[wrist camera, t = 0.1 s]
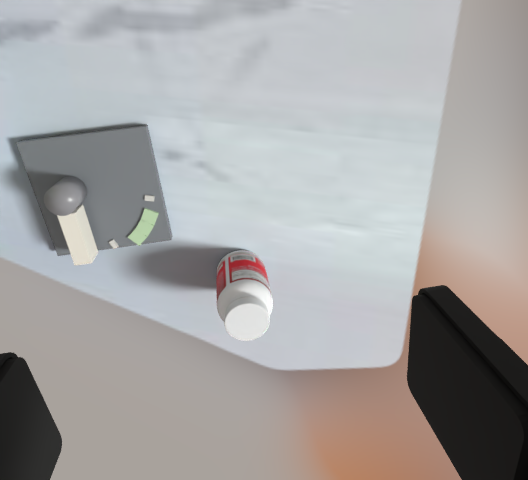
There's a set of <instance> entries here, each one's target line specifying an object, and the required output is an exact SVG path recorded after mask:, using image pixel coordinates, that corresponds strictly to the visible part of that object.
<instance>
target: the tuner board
mask: <svg viewBox="0 0 528 480" xmlns="http://www.w3.org/2000/svg"><path fill="white" fill-rule="evenodd" d="M16 144H17V147H18V150H19V152H20V155H21V158H22V160H23V163H24V166H25V169H26V171H27V174H28V177H29V179H30V182H31V185H32V187H33V190H34V193H35V196H36V198H37V201H38V204H39V206H40V209H41V212H42V214H43V217H44V220H45V223H46V225H47V228H48V231H49V233H50V236H51V239H52V241H53V244H54V247H55V249H56V252H57V255H58V256H62V255H69V254H71V253H70V251H69V248H68V245H67V242H66V239H65V236H64V234H63V231H62V228H61V225H60V222H59V219H58V217H57V215H55V214H53V213H52V212H50V211H49V210H48V209H47V208H46V206H45V204H44V195H45V193H46V191H47V190H49V189H50V188H51V187H52V186H54V185H55V184H56V183H57V182H58V181H60V180H61V179H62V178H64V177H67V176H73V177H77V178H79V179H80V180H82V181H83V182H84V184H85V185H86V187H87V196H86V198H85V199H84V200H83V201H82V202H81V204H80V205H82V204H83V206H84V209H85V212H86V215H87V219H88V222H89V225H90V228H91V231H92V234H93V237H94V240H95V244H96V247H97V250H104V249H112V248H113V249H115V248H119V247H126V246H133V245H139V246H140V245H141V244H147V243H154V242H162V241H169V240H171V239H172V233H171V228H170V224H169V219H168V215H167V210H166V206H165V201H164V197H163V193H162V188H161V184H160V179H159V175H158V170H157V166H156V161H155V157H154V152H153V148H152V143H151V139H150V135H149V130H148V126H147V125H142V126H134V127H126V128H117V129H109V130H101V131H93V132H85V133H77V134H69V135H61V136H52V137H44V138H36V139H28V140H21V141H19V142H16Z"/></svg>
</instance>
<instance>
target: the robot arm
mask: <svg viewBox="0 0 528 480" xmlns="http://www.w3.org/2000/svg"><path fill="white" fill-rule="evenodd" d="M409 341H410V342H409V355H408V372H407V381H408V386H409V389H410V391H411V393H412V395H413V397H414V398H415V400H416V402H417V404H418V405H419V407H420V409H421V410H422V412H423V414H424V416H425V417H426V419H427V421H428V422H429V424H430V426H431V428H432V429H433V431H434V433H435V434H436V436H437V438H438V440H439V441H440V443H441V445H442V446H443V448H444V450H445V452H446V453H447V455H448V457H449V458H450V460H451V462H452V464H453V465H454V467H455V469H456V470H457V472H458V474H459V476H460V477H461V479H462V480H528V365H527V364H526V363H525V362H524V361H523V360H522V359H521V358H520V357H519V356H518V355H517V354H516V353H515V352H514V351H513V350H511V348H510V347H509V346H508V345H507V344H506V343H505V342H504V341H503V340H502V339H500V338H499V337H498V336H497V335H496V334H494V333H493V332H492V331H491V330H490V329H489V328H488V327H487V326H486V325H485V324H484V323H483V322H482V321H481V320H480V319H479V318H478V317H477V316H476V315H475V314H474V313H473V312H472V311H471V310H470V309H469V308H468V307H467V306H466V305H465V304H464V303H463V302H462V301H461V300H460V299H459V298H458V297H457V296H456V295H455V294H454V293H453V292H452V291H451V290H450V289H449V288H448V287H447V286H444V285H441V286H435V287H428V288H423V289H420V291H419V293H418V295H416V296H414V297H413V299H412V309H411V325H410V340H409ZM61 446H62V439H61V435H60V433H59V431H58V429H57V426H56V424H55V422H54V420H53V418H52V416H51V414H50V412H49V410H48V407H47V405H46V403H45V401H44V399H43V397H42V395H41V393H40V390H39V388H38V386H37V384H36V382H35V380H34V378H33V376H32V374H31V371H30V369H29V367H28V365H27V363H26V361H25V360H24V359H23V358H21V357H17V355H16V354H14V353H11V352H10V353H3V354H0V480H50V478H51V475H52V473H53V470H54V468H55V465H56V462H57V460H58V457H59V455H60V452H61Z"/></svg>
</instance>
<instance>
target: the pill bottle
mask: <svg viewBox="0 0 528 480" xmlns="http://www.w3.org/2000/svg"><path fill="white" fill-rule="evenodd" d="M216 281H217V309H218V313H219V316H220V317H221V319H222V320H223V321H224V324H225V328H226V331H227V332H228V334H229V335H230V336H232V337H233V338H235V339H238V340H242V341H249V340H254V339H256V338H258V337H260V336H261V335H263V334H264V333H265V332H266V330H267V329H268V326H269V323H270V318H269V316H270V314H271V312H272V308H273V299H272V294H271V290H270V286H269V282H268V278H267V274H266V270H265V266H264V264H263V262H262V260H261V259H260V258H259V257H258V256H257V255H256V254H254V253H252V252H250V251H246V250H238V251H234V252H231V253H229V254H227V255H226V256H225V257H223V258H222V260H221V261H220V262H219V264H218V267H217V273H216Z"/></svg>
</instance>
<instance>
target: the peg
mask: <svg viewBox="0 0 528 480" xmlns="http://www.w3.org/2000/svg"><path fill="white" fill-rule="evenodd" d="M86 196H87V187H86V185H85V184H84V182H83V181H82V180H80V179H79V178H77V177H73V176H67V177H64V178H62V179H61V180H60V181H58V182H57V183H56V184H55V185H54V186H52V187H51V188H50V189H49V190H47V191H46V193H45V195H44V204H45V206H46V208H47V209H48V210H49V211H50V212H52V213H53V214H55V215H57V217H58V219H59V222H60V225H61V228H62V231H63V234H64V236H65V239H66V242H67V245H68V248H69V251H70V253H71V256H72V259H73V262H74V265H83V264H90V263H92V262H93V260H94V259H95V257H96V255H97V254H98V250H97V247H96V244H95V240H94V237H93V234H92V231H91V228H90V225H89V222H88V219H87V215H86V212H85V209H84V206H83V204H82V205H80V204H81V202H82V201H83V200H84V199H85V198H86Z"/></svg>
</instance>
